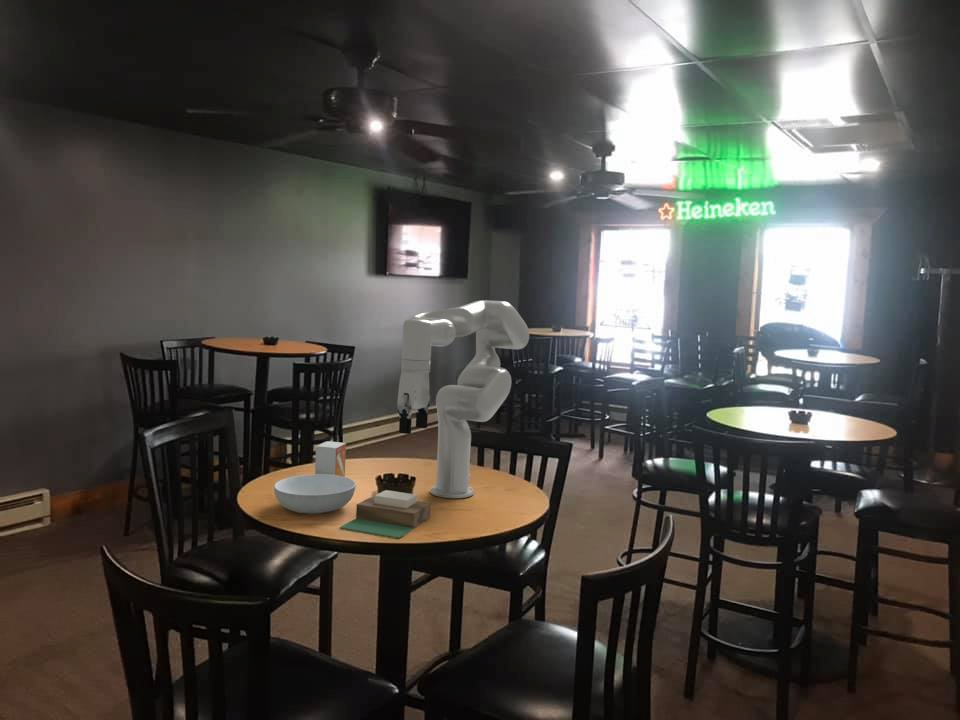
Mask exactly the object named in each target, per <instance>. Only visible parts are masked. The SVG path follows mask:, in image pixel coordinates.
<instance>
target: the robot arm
mask: <svg viewBox="0 0 960 720" xmlns="http://www.w3.org/2000/svg"><path fill="white" fill-rule="evenodd" d="M474 333H475V355H474V357H473V358H472V359H471V361H470V362H469V363H468V364H467V365H466V366H465V368H464V369H463V370H462V371H461V373H460V374H459V375H458V378H457V384H448V385H444V386H443V387H441V388H440V389H439V390H438V392H437V394H436V397H435V405H436V411H437V412H436V413H437V422H438V423H437V424H438V426H437V427H438V429H437V431H438V434H437V435H438V436H437V453H436V454H437V456H436V477H435V478H436V480H435V481H436V482H435V485H432V486H431V487H430V493H431V494H432V495H433V496H436V497H439V498H446V499H464V498H468V497H472V496H473V495H475V494H474V493H475V489H474V488H473V487H471V486H470V480H471V478H472V477H471V476H472V475H471V474H470V468H471V467H470V465H471V464H470V463H471V444H472V443H471V442H472V432H471V429H470V425H469V423H468V421H472V422H479V423H480V422H481V423H484V422H487V421H489V420H490V419H492V417H494V415H495V414H496V413H497V411H498V410H499V409H500V407H501V406H502V404H504V402H505V401H506V399H507V398H508V396H509V394H510V392H511V388H512V376H511V374H510V372H509V371H508V369H506V368H504V367H501V359H500V357H499V355H498V354H497V352H496V349H497V348H498V349H505V350H506V349H507V350H522V349H524V348H525V347H527V345H528V343H529V340H530V329H529V328H528V325H527V324H526V322H525V320H524V319H523V318H522V316H521V315H520V313H519V312H518V311H517V310H516V308H515V307H514V306H513V305H512V304H511V303H509V302H508V301H503V300H502V301H501V300H488V299H487V300H483V299H482V300H476V301H472V302H470V303H467V304H464V305H461V306H458V307H451V308H444V309H439V310H433V311H427V312H423V313H419V314H415V315H413V316H411V317H410V318H408V319H405V320H404V321H403V326H402V349H401V350H402V351H401V370H400V371H401V373H400V377H399V383H398V390H397V391H398V395H397V409H398V410H397V412H398V418H399V426H398V432H399V434H405V435H410V434H412V418H411V416H412V414H413V412H414V411H417V412H416V413H415V427H416V428H420V429H427V428H428V417H429V411H430V410H429V407H430V401H431V395H430V373H431V362H432V361H431V358H432V357H431V356H432V347H446V346H449V345H450V344H452V343H453V342H454V340H455V338H457V337H458V338H459V337H466V336H469V335H472V334H474Z"/></svg>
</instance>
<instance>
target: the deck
mask: <svg viewBox="0 0 960 720" xmlns="http://www.w3.org/2000/svg"><path fill="white" fill-rule="evenodd" d="M375 495H376V494H374V495H372V496H370V497H369V498H366V499H364V500H362V501H360V502H358V503H356V504H355V505H356V507H355V508H356V509H355V510H356V511H355V512H356V513H355V519H362V520H368V521H374V522H380V523H386V524H392V525H398V526H404V527H410V528H413V530H415V529H416V528H418V527H419V526H421V525H423V524H424V523H425V522H427V521H428V520H430V519H431V502H425V501H418V500H417V502H416V503H415V504H413V505H411V506H410V507H408V508H401V507H395V506H389V505H382V504H376V503H375ZM429 518H430V519H429ZM426 520H427V521H426ZM423 522H424V523H423ZM420 524H421V525H420ZM417 526H418V527H417ZM414 528H415V529H414Z"/></svg>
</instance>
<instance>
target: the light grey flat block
mask: <svg viewBox="0 0 960 720" xmlns="http://www.w3.org/2000/svg"><path fill="white" fill-rule="evenodd" d="M374 495H375V503H376V504H382V505H389V506H395V507H401V508H408V507H410V506H411V505H413V504H415V503H416V502H417V501H418V498H417V497H418V494H416V493H407V492H402V491H401V492H400V491H395V490H387V489H385V490H382V491H381V492H379V493H377V494H374Z"/></svg>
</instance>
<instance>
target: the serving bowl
mask: <svg viewBox="0 0 960 720" xmlns="http://www.w3.org/2000/svg"><path fill="white" fill-rule="evenodd" d="M356 486H357V485H356V482H355V481H354V480H353V479H351V478H350V477H346V476H345V477H343V476H338V475H327V474H315V473H313V474H312V473H311V474H301V475H295V476H291V477H290V476H289V477H286V478H282V479H280V480H278V481H276V482H275V483H274V485H273V489H274V495H275V498H276V500H277V502H278V503H279V504H280V505H282V507H284V508H285V509H288V510H290V511H292V512H296V513H302V514H305V513H306V515H321V514H325V513H328V512H333V511H336V510H338V509H341V508H343V507H344V506H346V505H347V504H348V503H349V502H350V501H351V500H352V498H354V495H355V491H356Z"/></svg>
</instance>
